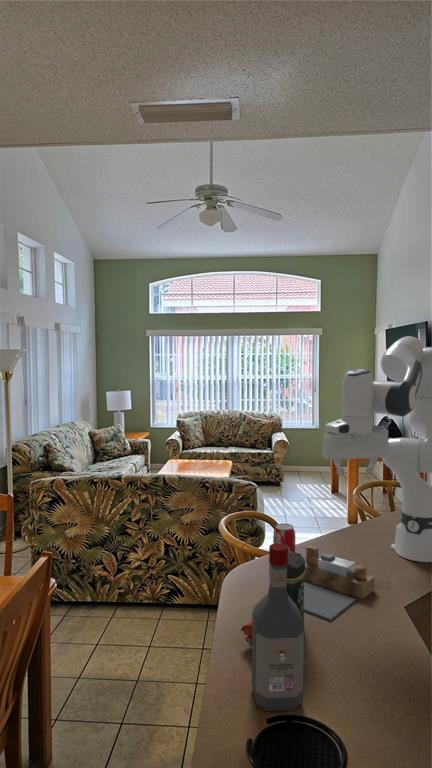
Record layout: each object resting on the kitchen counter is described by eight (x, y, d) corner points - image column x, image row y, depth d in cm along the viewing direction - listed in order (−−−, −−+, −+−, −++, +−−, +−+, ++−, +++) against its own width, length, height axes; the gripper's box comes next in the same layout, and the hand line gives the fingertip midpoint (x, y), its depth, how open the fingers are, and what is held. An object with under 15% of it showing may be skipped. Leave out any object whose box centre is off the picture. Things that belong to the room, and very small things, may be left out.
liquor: (305, 711, 99) (307, 555, 97) (257, 713, 98) (259, 556, 96) (294, 680, 108) (296, 538, 106) (250, 682, 107) (251, 539, 105)
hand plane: (300, 578, 156) (300, 549, 156) (312, 571, 162) (312, 542, 161) (363, 599, 143) (363, 567, 143) (373, 590, 149) (374, 559, 148)
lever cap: (318, 569, 153) (318, 556, 153) (326, 564, 157) (326, 551, 157) (346, 578, 148) (346, 564, 147) (354, 572, 151) (354, 559, 151)
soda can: (294, 568, 164) (295, 530, 163) (271, 566, 165) (272, 529, 164) (295, 559, 171) (296, 523, 170) (274, 557, 172) (274, 522, 171)
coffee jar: (295, 644, 121) (296, 566, 120) (263, 635, 125) (264, 559, 124) (308, 625, 130) (309, 552, 129) (278, 617, 133) (279, 546, 132)
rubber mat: (298, 582, 154) (298, 580, 154) (355, 601, 142) (355, 599, 142) (271, 598, 143) (271, 596, 143) (330, 621, 132) (330, 618, 132)
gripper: (381, 424, 156) (380, 469, 157) (319, 425, 150) (318, 472, 151) (394, 426, 150) (393, 474, 151) (330, 427, 144) (329, 477, 145)
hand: (355, 473), depth 151 cm, fingers open, 8 cm apart
